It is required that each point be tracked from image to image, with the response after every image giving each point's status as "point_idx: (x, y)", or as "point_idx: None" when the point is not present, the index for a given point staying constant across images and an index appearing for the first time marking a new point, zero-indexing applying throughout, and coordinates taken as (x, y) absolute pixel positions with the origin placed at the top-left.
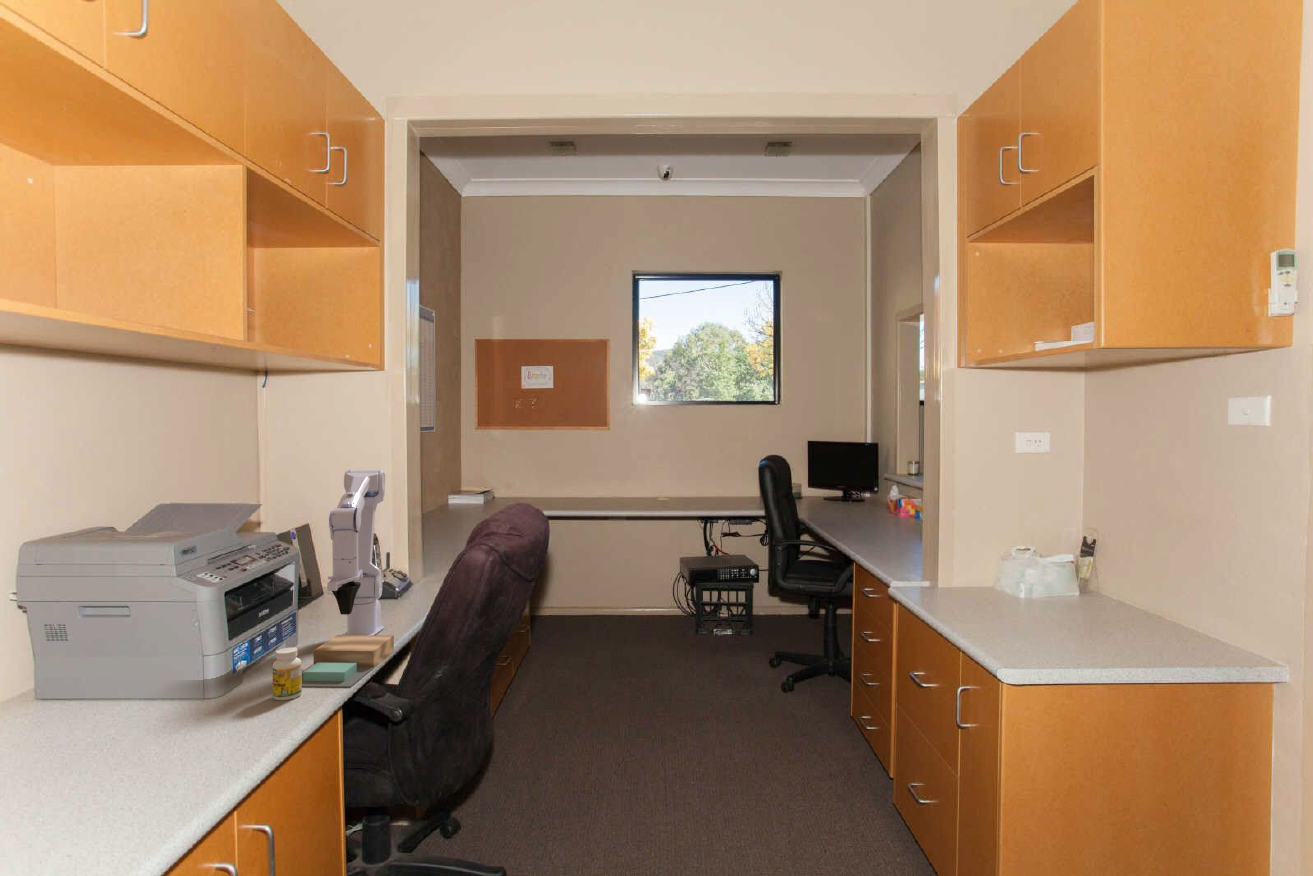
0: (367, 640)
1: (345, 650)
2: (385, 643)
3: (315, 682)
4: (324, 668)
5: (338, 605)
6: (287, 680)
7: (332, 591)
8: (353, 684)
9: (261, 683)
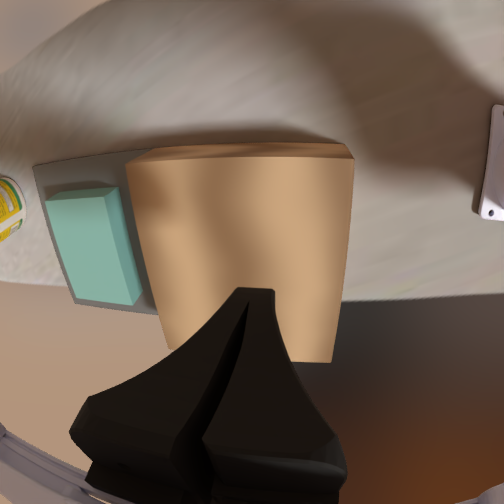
0: None
1: (151, 277)
2: None
3: None
4: (75, 242)
5: (206, 322)
6: None
7: (103, 397)
8: (86, 304)
9: (38, 87)
